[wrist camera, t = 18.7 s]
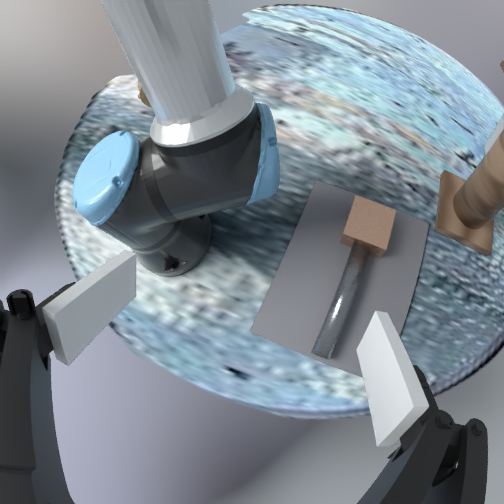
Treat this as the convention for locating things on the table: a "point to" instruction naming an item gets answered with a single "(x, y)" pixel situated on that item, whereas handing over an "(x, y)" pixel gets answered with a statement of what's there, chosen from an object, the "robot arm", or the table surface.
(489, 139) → the cylinder vase
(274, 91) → the table surface
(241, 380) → the table surface
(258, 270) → the table surface
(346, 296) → the wooden mallet
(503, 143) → the bobbin stand
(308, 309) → the rubber mat
